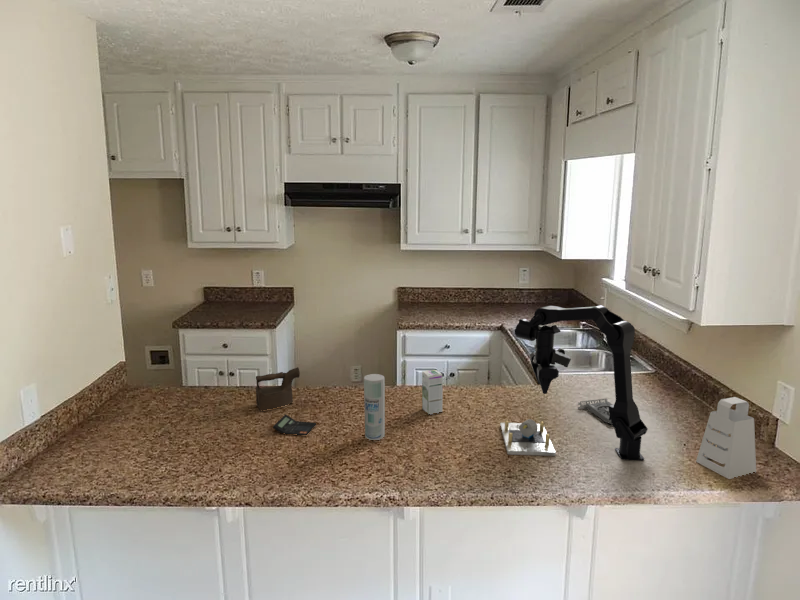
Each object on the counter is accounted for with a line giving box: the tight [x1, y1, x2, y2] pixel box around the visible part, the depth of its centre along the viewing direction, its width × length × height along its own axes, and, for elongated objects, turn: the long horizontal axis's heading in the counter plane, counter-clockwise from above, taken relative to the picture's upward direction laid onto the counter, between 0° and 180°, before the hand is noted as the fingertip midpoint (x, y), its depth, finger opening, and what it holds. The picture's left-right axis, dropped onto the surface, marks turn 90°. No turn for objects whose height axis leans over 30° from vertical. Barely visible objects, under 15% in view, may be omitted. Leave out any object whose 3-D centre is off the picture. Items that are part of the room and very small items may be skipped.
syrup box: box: [421, 369, 443, 415], centre depth 190 cm, size 6×6×14 cm
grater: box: [695, 396, 757, 480], centre depth 150 cm, size 10×10×20 cm
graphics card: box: [577, 397, 614, 425], centre depth 187 cm, size 17×4×12 cm
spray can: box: [363, 373, 386, 441], centre depth 169 cm, size 6×6×20 cm
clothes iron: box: [255, 366, 301, 411], centre depth 196 cm, size 8×16×13 cm, turn 113°
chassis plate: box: [499, 419, 556, 457], centre depth 169 cm, size 20×14×4 cm
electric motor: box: [517, 418, 538, 438], centre depth 168 cm, size 7×5×5 cm
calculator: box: [272, 414, 317, 435], centre depth 177 cm, size 9×12×3 cm
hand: (542, 388), depth 180 cm, fingers open, 9 cm apart
